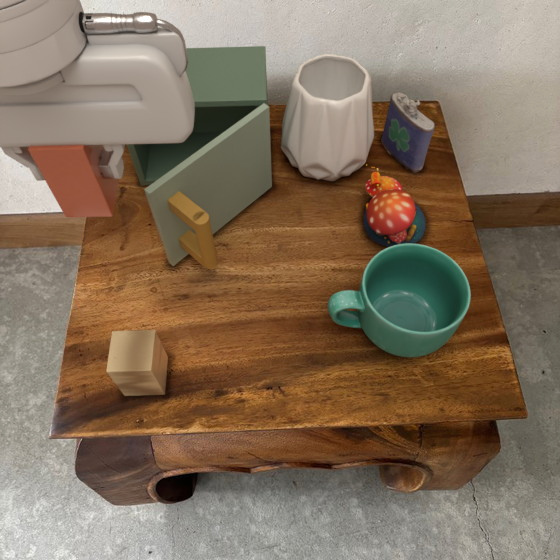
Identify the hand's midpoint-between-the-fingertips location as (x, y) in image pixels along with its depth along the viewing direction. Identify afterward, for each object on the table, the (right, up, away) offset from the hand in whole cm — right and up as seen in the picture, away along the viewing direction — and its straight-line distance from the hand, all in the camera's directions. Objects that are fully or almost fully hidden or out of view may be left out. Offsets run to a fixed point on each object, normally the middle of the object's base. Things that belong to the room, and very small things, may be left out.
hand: (81, 173), depth 45 cm
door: (+10, -2, +35) cm, 36 cm away
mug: (+30, -14, +28) cm, 43 cm away
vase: (+23, +11, +43) cm, 50 cm away
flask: (+35, +11, +43) cm, 57 cm away
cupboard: (+4, +11, +43) cm, 45 cm away
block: (0, -2, +3) cm, 3 cm away
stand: (-1, -21, +24) cm, 32 cm away
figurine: (+33, 0, +36) cm, 49 cm away
